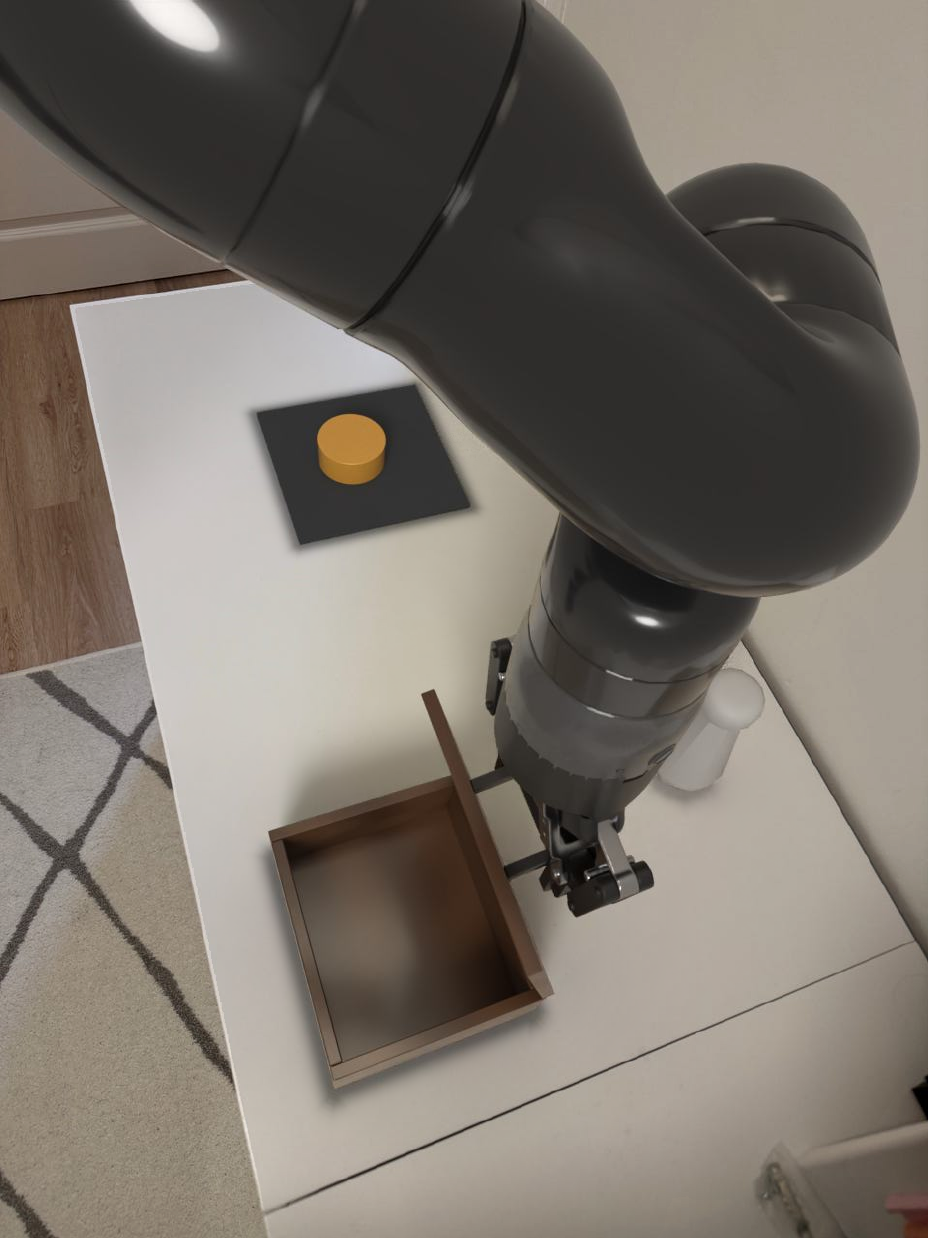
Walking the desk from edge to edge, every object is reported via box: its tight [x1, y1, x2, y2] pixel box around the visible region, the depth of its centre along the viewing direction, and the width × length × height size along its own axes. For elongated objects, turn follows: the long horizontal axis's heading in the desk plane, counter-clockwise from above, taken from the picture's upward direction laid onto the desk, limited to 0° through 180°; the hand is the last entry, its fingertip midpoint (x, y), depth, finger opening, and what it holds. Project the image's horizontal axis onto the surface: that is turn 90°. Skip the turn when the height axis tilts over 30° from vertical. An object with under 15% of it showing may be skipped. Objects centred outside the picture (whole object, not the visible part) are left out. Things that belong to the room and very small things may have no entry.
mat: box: [256, 384, 471, 546], centre depth 84 cm, size 16×16×1 cm
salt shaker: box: [657, 667, 766, 792], centre depth 65 cm, size 6×6×13 cm
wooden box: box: [267, 774, 548, 1090], centre depth 59 cm, size 14×16×6 cm
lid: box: [420, 688, 561, 999], centre depth 52 cm, size 14×16×5 cm
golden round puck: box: [317, 414, 386, 485], centre depth 82 cm, size 6×6×3 cm
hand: (535, 824), depth 50 cm, fingers closed on lid, 6 cm apart
